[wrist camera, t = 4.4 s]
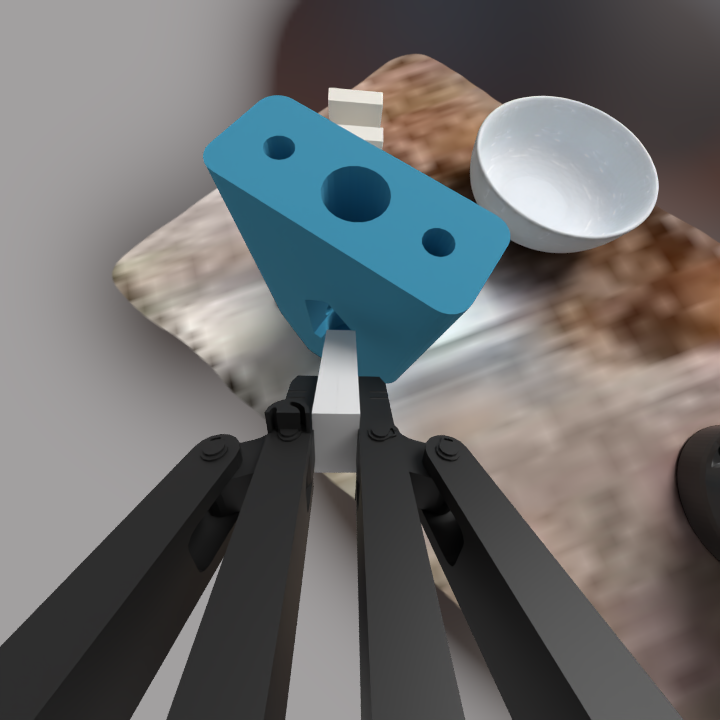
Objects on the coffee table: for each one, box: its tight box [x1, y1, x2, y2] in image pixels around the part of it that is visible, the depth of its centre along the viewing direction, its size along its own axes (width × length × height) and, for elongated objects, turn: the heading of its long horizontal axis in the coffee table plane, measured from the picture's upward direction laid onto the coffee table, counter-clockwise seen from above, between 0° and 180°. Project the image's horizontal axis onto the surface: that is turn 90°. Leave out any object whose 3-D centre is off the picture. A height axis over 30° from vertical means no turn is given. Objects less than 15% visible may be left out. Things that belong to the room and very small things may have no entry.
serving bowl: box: [470, 96, 658, 253], centre depth 33 cm, size 21×21×7 cm
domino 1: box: [328, 88, 383, 128], centre depth 30 cm, size 2×5×10 cm, turn 89°
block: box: [203, 95, 510, 384], centre depth 20 cm, size 12×5×20 cm, turn 56°
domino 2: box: [337, 124, 383, 150], centre depth 28 cm, size 2×5×10 cm, turn 89°
